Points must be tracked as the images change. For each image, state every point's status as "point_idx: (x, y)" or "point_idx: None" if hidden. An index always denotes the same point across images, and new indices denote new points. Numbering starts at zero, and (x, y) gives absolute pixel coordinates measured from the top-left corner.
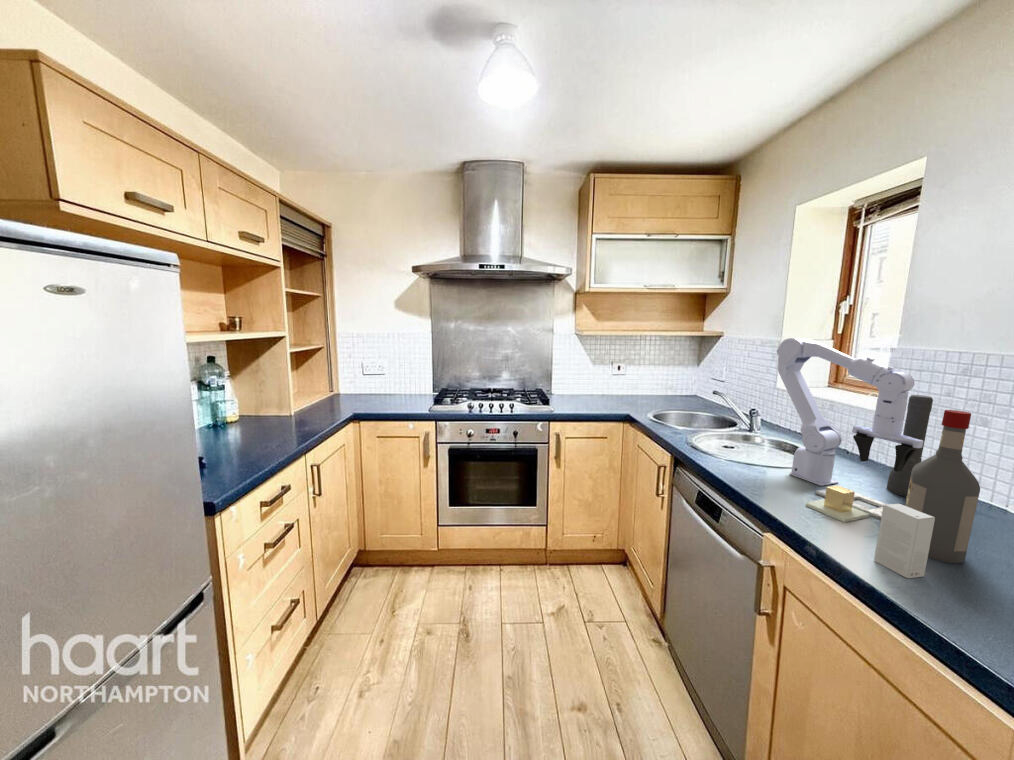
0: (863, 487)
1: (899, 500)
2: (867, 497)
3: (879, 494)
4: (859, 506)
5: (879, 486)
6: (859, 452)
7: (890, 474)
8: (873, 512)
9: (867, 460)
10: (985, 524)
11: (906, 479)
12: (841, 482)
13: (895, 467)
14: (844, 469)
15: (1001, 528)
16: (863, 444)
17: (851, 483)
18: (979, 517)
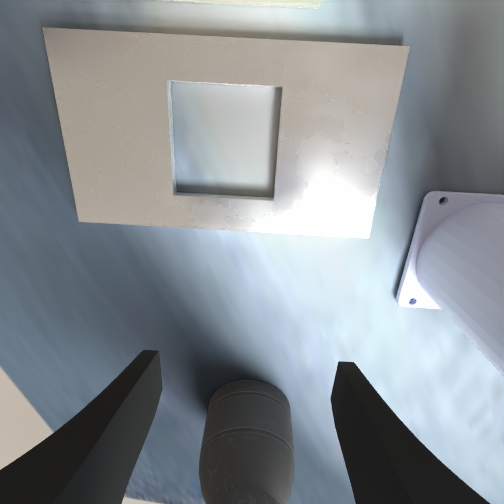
0: (327, 344)
1: (213, 332)
2: (253, 225)
3: (268, 327)
4: (204, 60)
5: (306, 397)
6: (387, 408)
7: (282, 445)
8: (138, 46)
9: (331, 400)
10: (35, 363)
11: (225, 438)
12: (392, 322)
13: (139, 364)
14: (435, 448)
15: (11, 371)
16: (400, 496)
17: (366, 345)
18: (73, 398)
